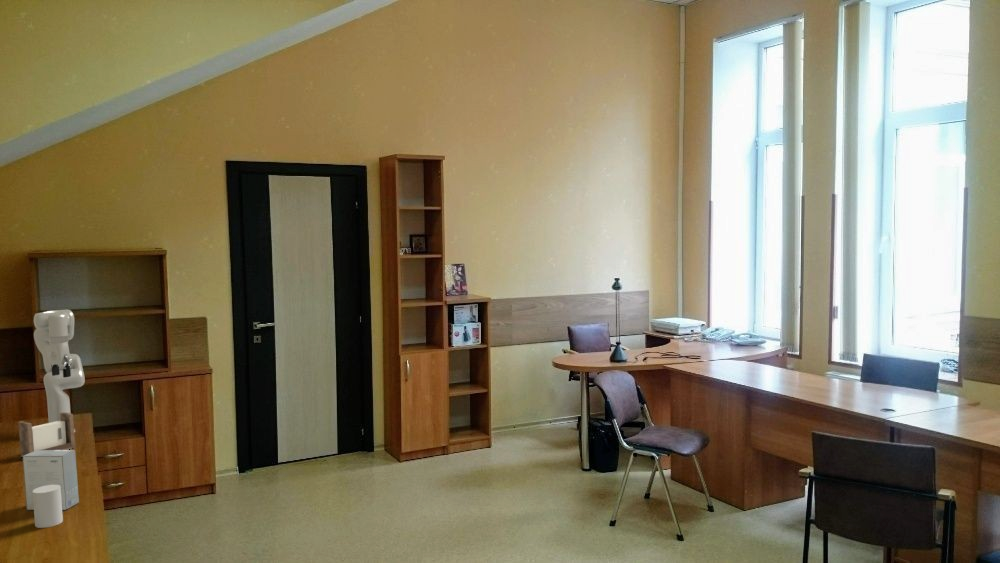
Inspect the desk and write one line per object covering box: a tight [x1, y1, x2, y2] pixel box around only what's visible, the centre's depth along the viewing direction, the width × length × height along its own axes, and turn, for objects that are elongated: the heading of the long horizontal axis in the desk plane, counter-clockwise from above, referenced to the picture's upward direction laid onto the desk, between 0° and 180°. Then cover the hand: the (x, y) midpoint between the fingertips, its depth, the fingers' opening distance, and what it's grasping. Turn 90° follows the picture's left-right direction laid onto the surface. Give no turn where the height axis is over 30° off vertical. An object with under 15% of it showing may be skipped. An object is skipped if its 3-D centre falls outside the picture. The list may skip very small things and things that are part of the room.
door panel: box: [32, 420, 66, 451], centre depth 336 cm, size 4×14×12 cm, turn 148°
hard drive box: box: [22, 449, 80, 511], centre depth 269 cm, size 16×8×20 cm, turn 84°
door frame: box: [18, 412, 76, 458], centre depth 336 cm, size 8×20×16 cm, turn 148°
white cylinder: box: [33, 485, 64, 529], centre depth 253 cm, size 8×8×12 cm
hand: (61, 376), depth 349 cm, fingers open, 9 cm apart
